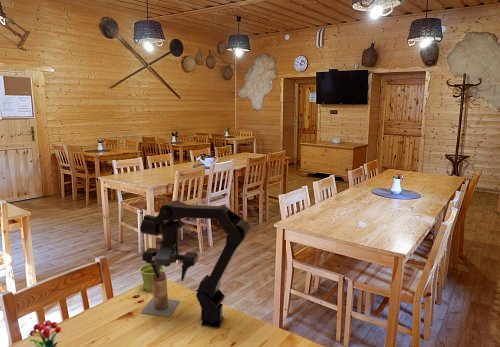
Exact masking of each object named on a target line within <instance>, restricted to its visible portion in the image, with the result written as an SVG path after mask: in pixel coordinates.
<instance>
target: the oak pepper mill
mask: <svg viewBox="0 0 500 347" xmlns="http://www.w3.org/2000/svg"><path fill="white" fill-rule="evenodd" d="M152 280H153V291H152V294H153V298H154V308H155V309H156V310H164V309H166V308H167V307H168V299H169V298H168V297H169V296H168V282H167V281H168V278H167V276H166V272H165V271H163V272H160V274H159V278H157V277H156V274H155V273H154V274H153V279H152Z"/></svg>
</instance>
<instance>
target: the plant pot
mask: <svg viewBox="0 0 500 347" xmlns="http://www.w3.org/2000/svg"><path fill="white" fill-rule="evenodd" d="M164 269H165V266H160V272H164ZM139 272H140V275H141V276H142V283H143V287H144V290H145V291H146V292H153V280H152V279H153V274H154V273H155V272H154V269H153V267H152V266H151V264H149V263H146V264H145V265H142V266H141V267H140V268H139Z"/></svg>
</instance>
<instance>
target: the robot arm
mask: <svg viewBox="0 0 500 347" xmlns="http://www.w3.org/2000/svg"><path fill="white" fill-rule="evenodd" d="M182 219H208V220H216V221H218V222H219V225H220V226H221V227H222V229H223V231H224V232H225V233H226V238H225V245H224V247H223V250H222V252H221V254H220V255H219V258H218V259H217V261H216V263H215V265H214V267H213V269H212V271H211V273H210V275H208V274H206V275H205V277H203V279H202V280H201V281H200V283H199V285H198V287H197V289H196V290H195V292H196V294H195V297H196V299H197V301H198V304H199V306H200V308H201V311H200V313H201V314H200V315H201V316H200V319H201V324H200V325H201V326H204V327H213V328H220V327H221V325H222V322H223V321H224V320H223V319H224V316H223V303H222V302H223V301H224V299H225V297H226V296H225V294H224V293H223V292H222V290H220V288H221V284H222V282H221V281H222V278H223V277H224V275H225V272H226V270H227V269H228V267H229V265H230V263H231V261H232V259H233V258H234V255H235V253H236V252H237V250H238V248H239V246H240V245H241V244H242V243H243V242H244V240H246V238H247V237H248V236H249V234H250V232H251V229H252V228H251V225H250V224H249V222H248V221H247V220H245V219H243V218H242V217H241V216H240V215H238V213H236V212H234V211H232V210H231V209H230V208H229V207H228V206H226V205H223V204H222V205H206V204H205V205H202V204H201V205H199V204H198V205H197V204H187V203H184V202H183V201H178V200H172V201H171V200H170V201H169V202H167V203H165V204H162V205H161V207H160V208H159V213H158V214H157V215H156V216H155V215H152V214H145V215H144V216H143V220H142V221H141V224H140V226H139V228H140V229H139V230H140V233H141V234H143V235H148V236H155V237H158V236H160V235H161V242H160V246H159V248H155V247H148V248H147V249H146V250H145V251H143V253H142V254H141V255H142V256H141V259H142V261H144V262H146V264H151V266H152V267H153V269H154V272H155V274H156V277H157V278H159V274H160V266H163V267H164V268H167V267H170V266H171V264H173V263H177V261H181V263H182V264H181V275H180V276H181V277H180V280H181V282H184V281H185V277H186V275H187V272H188V270H189V268H191V267H194V266H195V265H196V263H197V262H198V260H199V255H198V253H197V252H192V251H187V252H186V253H185V254H180V253H181V248H179V247H180V244H179V243H180V241H181V238H180V229H182V227H184V226H185V225H186V223H185V222H184V221H182Z"/></svg>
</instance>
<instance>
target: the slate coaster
mask: <svg viewBox="0 0 500 347" xmlns="http://www.w3.org/2000/svg"><path fill="white" fill-rule="evenodd" d="M180 302H181V300H177V299H169V298H168V307H167V308H166V309H164V310H156V309H155V308H154V297H152V299H150V301H149V302H148V303H147V304H146V305H145V307H143V309H142V311H140V315H141V314H142V315H148V316H149V315H151V316H156V317H158V316H159V317H164V318H165V317H166V318H171V316H172V315H173V313H174V311H175V310H176V308H177V307H178V306H179V304H180Z"/></svg>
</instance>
